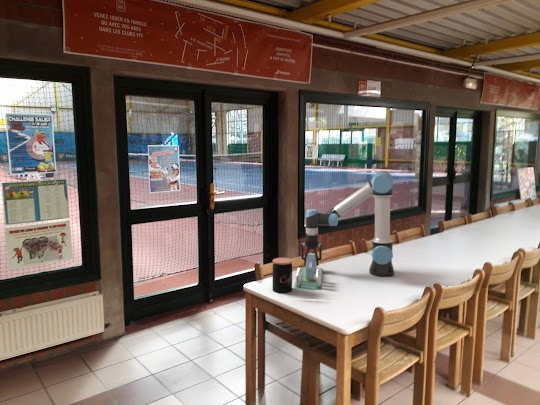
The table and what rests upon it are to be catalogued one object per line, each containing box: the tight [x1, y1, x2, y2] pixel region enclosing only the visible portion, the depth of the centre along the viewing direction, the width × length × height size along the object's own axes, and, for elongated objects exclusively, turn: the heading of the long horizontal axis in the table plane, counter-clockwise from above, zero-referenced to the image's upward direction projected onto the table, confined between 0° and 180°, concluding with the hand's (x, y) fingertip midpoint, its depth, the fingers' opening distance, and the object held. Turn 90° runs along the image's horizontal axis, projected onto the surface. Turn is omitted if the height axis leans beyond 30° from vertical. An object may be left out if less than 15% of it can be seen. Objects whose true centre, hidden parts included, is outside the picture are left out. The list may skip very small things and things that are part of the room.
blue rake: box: [305, 252, 316, 278], centre depth 254 cm, size 5×26×10 cm, turn 172°
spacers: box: [295, 266, 323, 289], centre depth 236 cm, size 14×13×8 cm
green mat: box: [293, 267, 324, 291], centre depth 248 cm, size 16×40×1 cm, turn 172°
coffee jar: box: [272, 257, 293, 294], centre depth 226 cm, size 11×11×18 cm
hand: (311, 270), depth 261 cm, fingers closed on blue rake, 5 cm apart
